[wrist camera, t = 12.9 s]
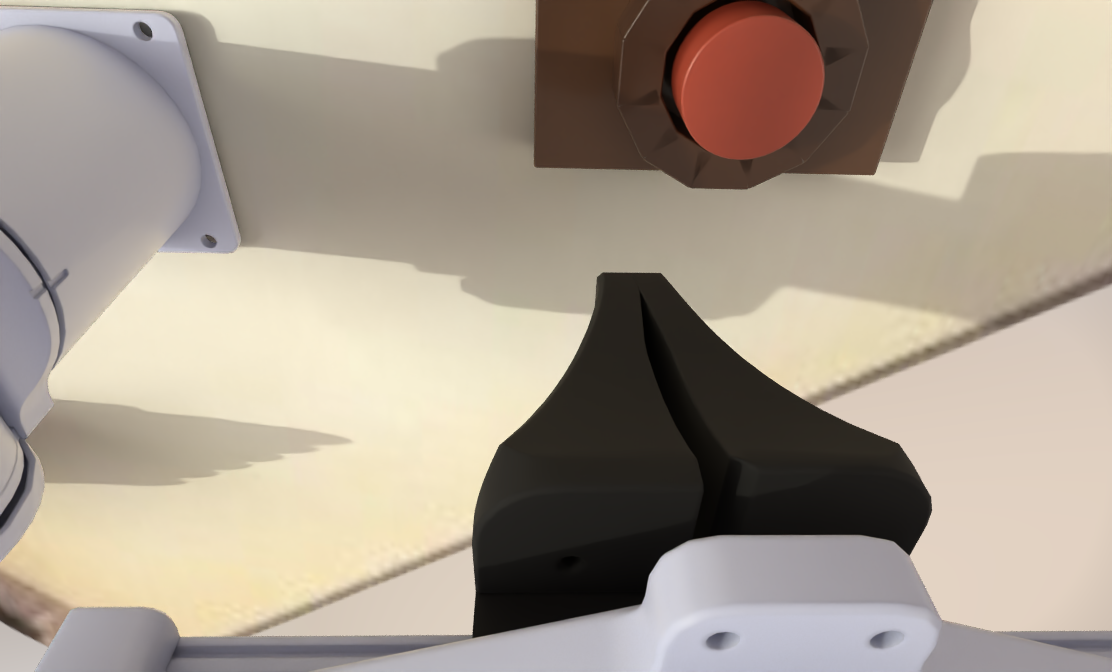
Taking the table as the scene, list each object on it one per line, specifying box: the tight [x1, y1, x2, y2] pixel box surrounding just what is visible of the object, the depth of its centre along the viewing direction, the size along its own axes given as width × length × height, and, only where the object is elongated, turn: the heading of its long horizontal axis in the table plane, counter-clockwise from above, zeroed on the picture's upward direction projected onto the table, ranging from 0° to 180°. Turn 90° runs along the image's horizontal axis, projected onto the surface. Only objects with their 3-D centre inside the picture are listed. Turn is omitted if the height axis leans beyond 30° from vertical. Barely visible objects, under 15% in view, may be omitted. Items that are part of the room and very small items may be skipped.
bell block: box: [534, 0, 933, 189], centre depth 20 cm, size 11×7×4 cm, turn 88°
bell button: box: [671, 1, 825, 160], centre depth 18 cm, size 4×4×2 cm
